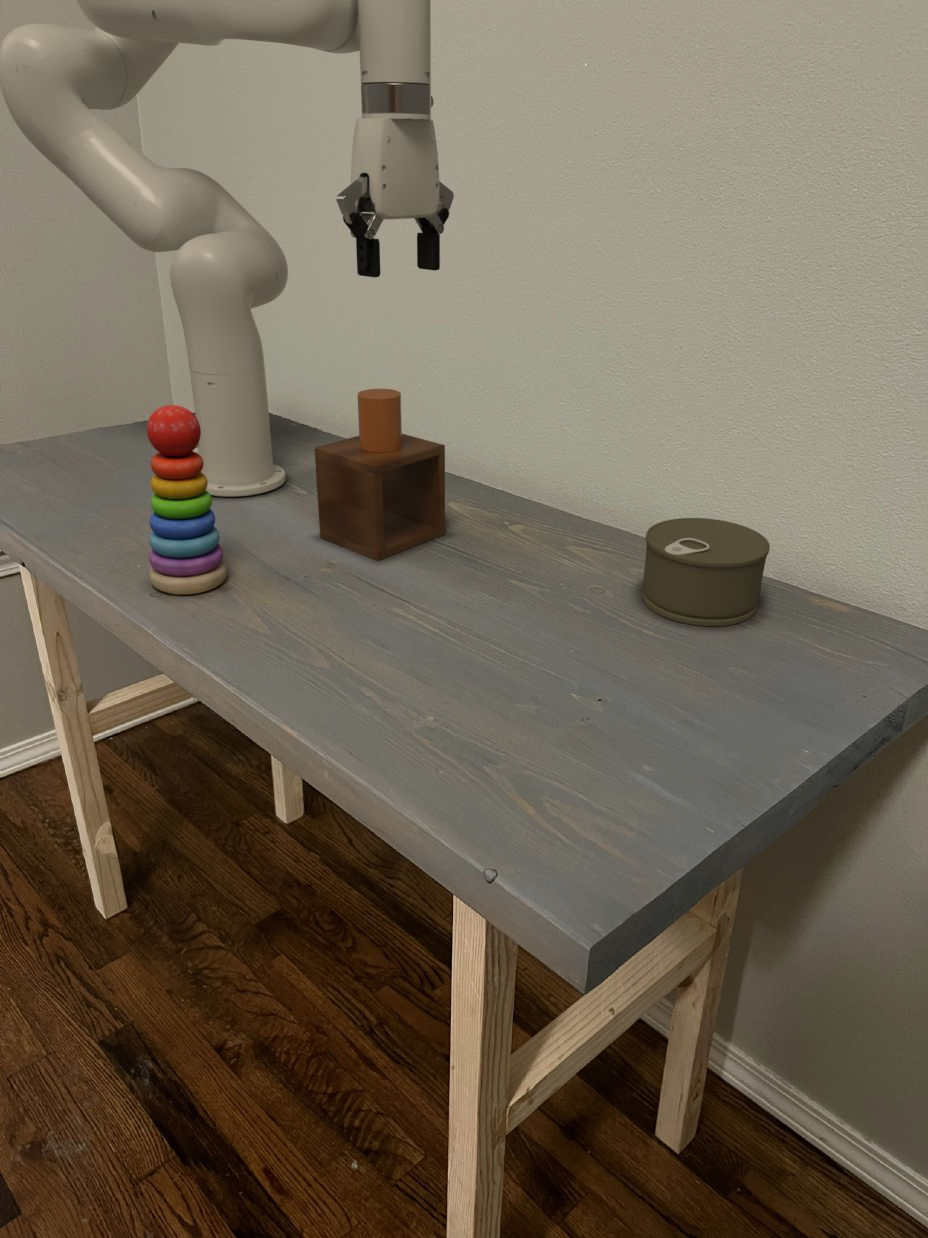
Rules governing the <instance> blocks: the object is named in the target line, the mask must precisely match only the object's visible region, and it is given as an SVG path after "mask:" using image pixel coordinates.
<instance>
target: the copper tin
mask: <svg viewBox="0 0 928 1238" xmlns="http://www.w3.org/2000/svg"><path fill="white" fill-rule="evenodd" d="M357 415H358V416H357V417H358V436H359V442H360V448H361V449H362V450H365V451H369V452H391V451H396V450H398V449H400V448H401V447H402V434H403V430H402V428H403V426H402V425H403V424H402V393H401V392H400V391H399V390H396V389H392V388H369V389H368V388H367V389H363V390H360V391H358V393H357Z"/></svg>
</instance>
